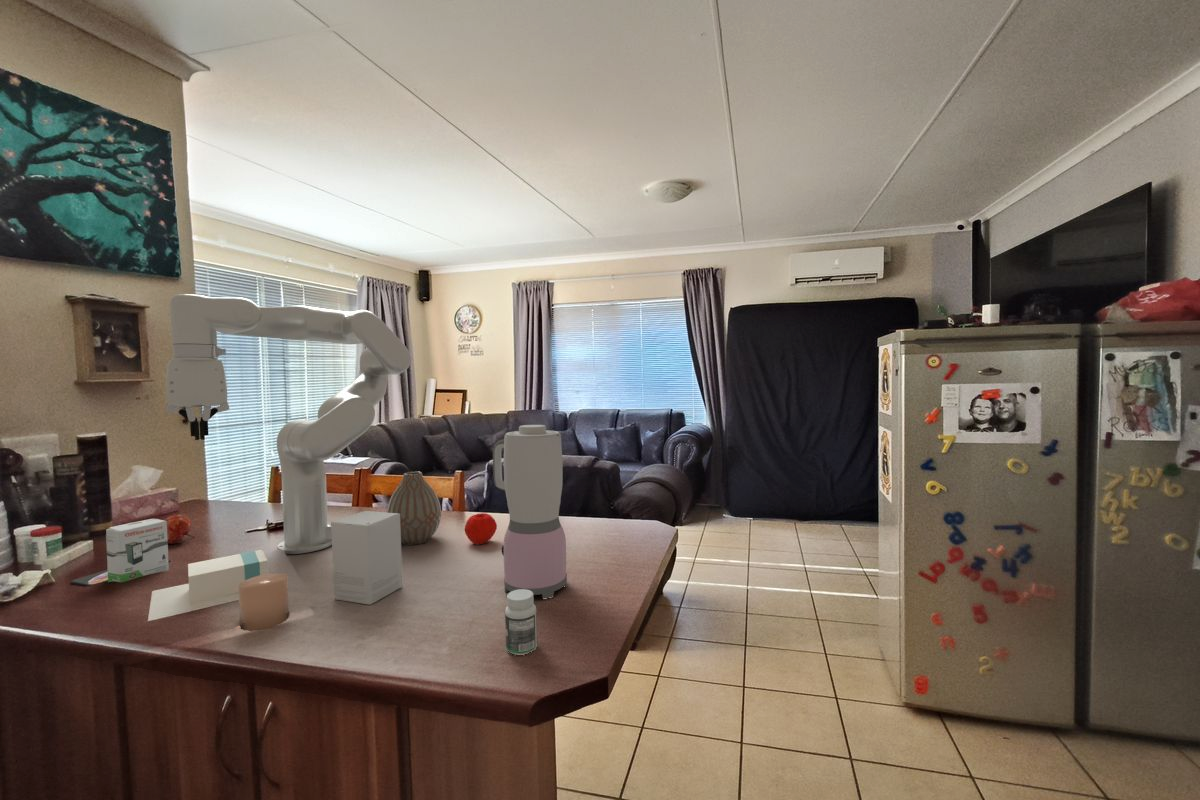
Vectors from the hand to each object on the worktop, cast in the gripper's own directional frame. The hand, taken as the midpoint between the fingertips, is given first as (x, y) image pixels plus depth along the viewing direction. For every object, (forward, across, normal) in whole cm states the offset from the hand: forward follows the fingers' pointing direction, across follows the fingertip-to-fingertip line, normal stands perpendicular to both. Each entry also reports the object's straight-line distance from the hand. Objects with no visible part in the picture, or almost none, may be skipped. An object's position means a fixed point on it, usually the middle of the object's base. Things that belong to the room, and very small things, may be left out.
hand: (199, 439), depth 109 cm
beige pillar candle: (+29, -7, +35) cm, 46 cm away
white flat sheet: (+29, 0, +17) cm, 34 cm away
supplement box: (+29, -24, +35) cm, 52 cm away
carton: (+25, +3, +17) cm, 31 cm away
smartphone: (+30, +14, -13) cm, 35 cm away
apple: (+29, -54, +22) cm, 65 cm away
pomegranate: (+29, +5, -32) cm, 44 cm away
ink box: (+29, +11, -5) cm, 32 cm away
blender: (+29, -49, +53) cm, 78 cm away
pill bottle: (+29, -36, +72) cm, 86 cm away
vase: (+29, -42, +9) cm, 52 cm away
